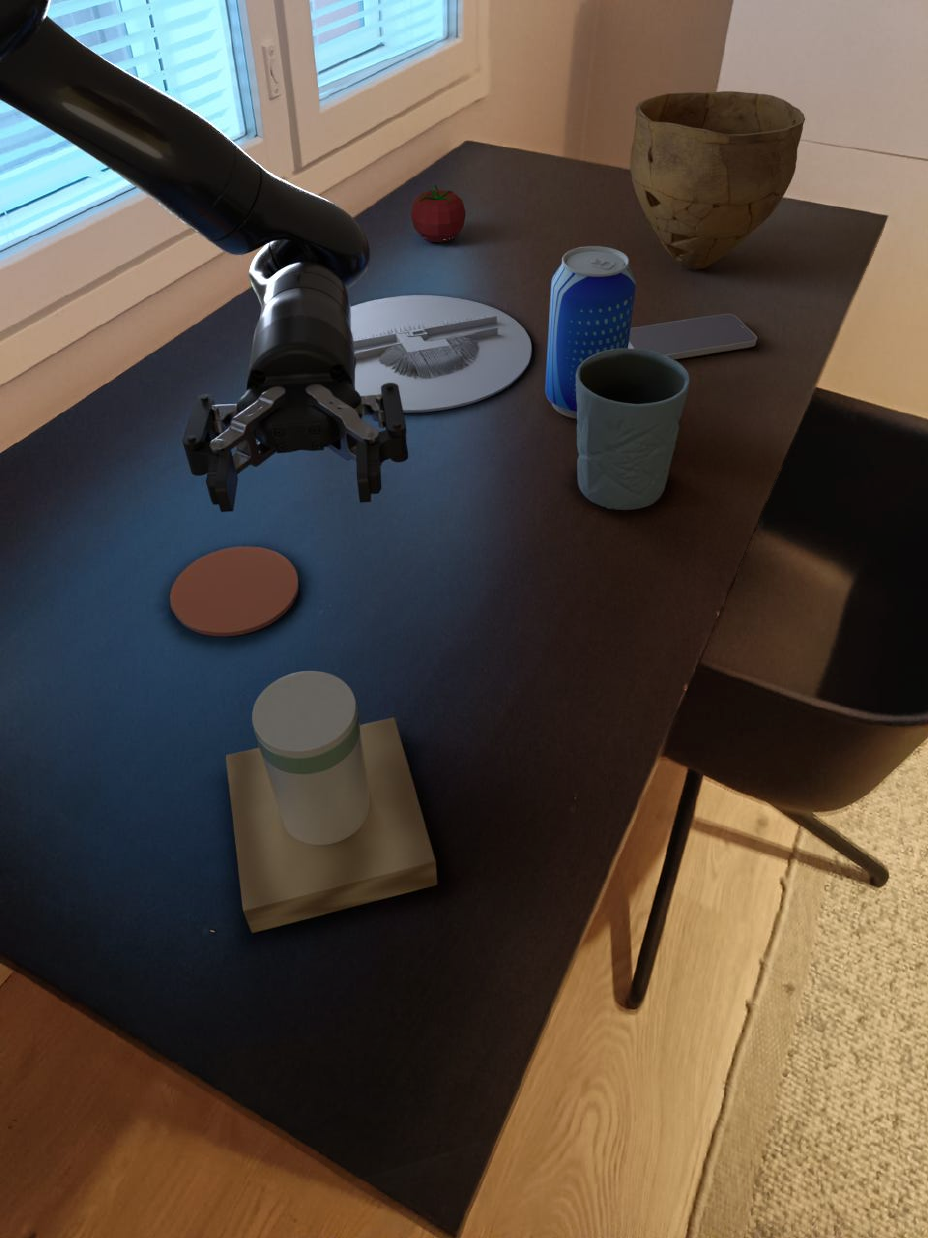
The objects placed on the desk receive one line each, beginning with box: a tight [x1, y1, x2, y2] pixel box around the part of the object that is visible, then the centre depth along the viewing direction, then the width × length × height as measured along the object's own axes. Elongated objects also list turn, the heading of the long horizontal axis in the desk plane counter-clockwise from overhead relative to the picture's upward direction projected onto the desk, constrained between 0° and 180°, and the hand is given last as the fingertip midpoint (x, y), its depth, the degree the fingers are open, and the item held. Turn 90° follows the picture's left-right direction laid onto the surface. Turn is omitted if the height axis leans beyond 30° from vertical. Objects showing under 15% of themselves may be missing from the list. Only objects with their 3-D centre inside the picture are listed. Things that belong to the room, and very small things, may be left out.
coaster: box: [169, 546, 300, 637], centre depth 78 cm, size 11×11×1 cm
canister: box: [251, 670, 371, 845], centre depth 55 cm, size 6×6×10 cm
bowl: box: [629, 90, 806, 271], centre depth 116 cm, size 21×20×20 cm
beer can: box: [544, 245, 637, 420], centre depth 93 cm, size 8×8×16 cm
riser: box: [225, 717, 438, 934], centre depth 60 cm, size 12×12×3 cm
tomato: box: [410, 184, 467, 243], centre depth 128 cm, size 8×8×8 cm
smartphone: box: [628, 313, 758, 360], centre depth 108 cm, size 7×1×15 cm
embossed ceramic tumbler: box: [576, 348, 691, 511], centre depth 84 cm, size 10×10×12 cm
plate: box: [350, 294, 532, 414], centre depth 108 cm, size 28×28×1 cm
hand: (294, 495), depth 55 cm, fingers open, 8 cm apart
